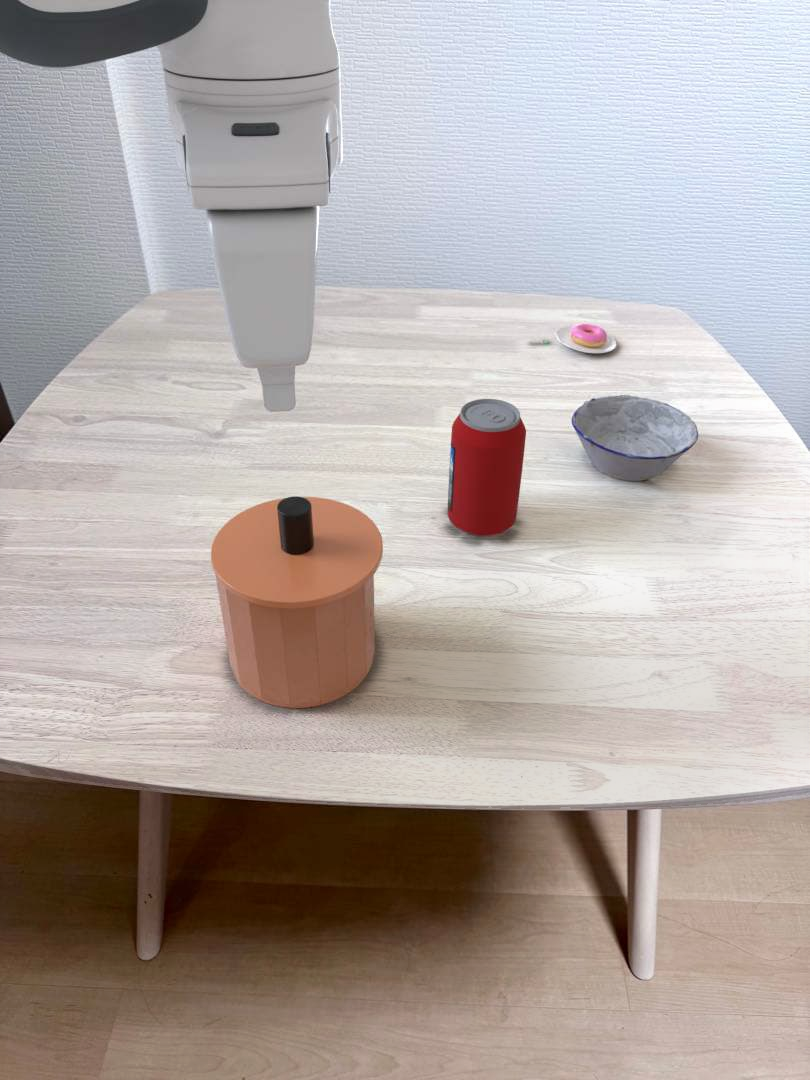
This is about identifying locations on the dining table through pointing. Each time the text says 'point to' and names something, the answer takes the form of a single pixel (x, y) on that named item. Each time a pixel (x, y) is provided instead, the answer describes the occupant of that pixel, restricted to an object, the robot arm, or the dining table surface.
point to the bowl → (633, 435)
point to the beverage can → (485, 467)
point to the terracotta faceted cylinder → (300, 647)
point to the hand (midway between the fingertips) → (278, 369)
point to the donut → (586, 338)
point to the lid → (296, 552)
